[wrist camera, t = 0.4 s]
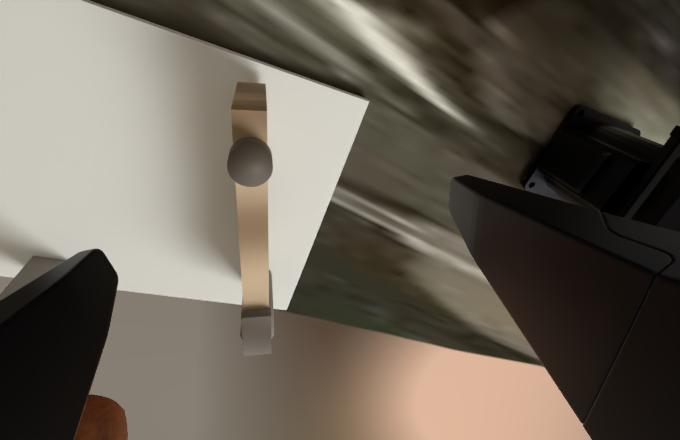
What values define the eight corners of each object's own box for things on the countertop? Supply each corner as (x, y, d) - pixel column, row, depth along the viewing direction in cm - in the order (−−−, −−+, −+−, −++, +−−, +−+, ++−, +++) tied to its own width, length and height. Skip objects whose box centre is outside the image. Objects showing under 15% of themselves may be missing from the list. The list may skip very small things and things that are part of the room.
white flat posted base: (365, 98, 21) (405, 139, 15) (285, 302, 29) (292, 381, 23) (-47, -49, 15) (-246, -72, 9) (-7, 265, 22) (-100, 361, 17)
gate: (270, 288, 26) (273, 359, 21) (245, 290, 26) (241, 362, 21) (269, 83, 18) (272, 118, 14) (233, 81, 18) (223, 116, 13)
